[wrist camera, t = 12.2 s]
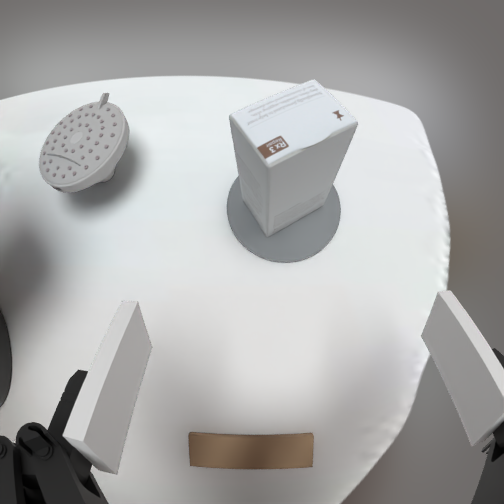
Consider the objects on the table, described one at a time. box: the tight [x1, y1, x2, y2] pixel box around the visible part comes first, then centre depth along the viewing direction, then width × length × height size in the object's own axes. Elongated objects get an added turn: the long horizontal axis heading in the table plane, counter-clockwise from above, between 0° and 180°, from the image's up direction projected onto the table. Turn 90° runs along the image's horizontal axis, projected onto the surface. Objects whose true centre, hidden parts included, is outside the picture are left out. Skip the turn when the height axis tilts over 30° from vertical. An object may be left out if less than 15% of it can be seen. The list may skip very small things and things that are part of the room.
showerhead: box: [39, 93, 129, 193], centre depth 26 cm, size 9×7×10 cm
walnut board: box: [189, 432, 314, 469], centre depth 21 cm, size 10×3×1 cm, turn 90°
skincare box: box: [229, 80, 358, 237], centre depth 21 cm, size 6×4×12 cm
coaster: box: [227, 176, 341, 262], centre depth 27 cm, size 10×10×1 cm
